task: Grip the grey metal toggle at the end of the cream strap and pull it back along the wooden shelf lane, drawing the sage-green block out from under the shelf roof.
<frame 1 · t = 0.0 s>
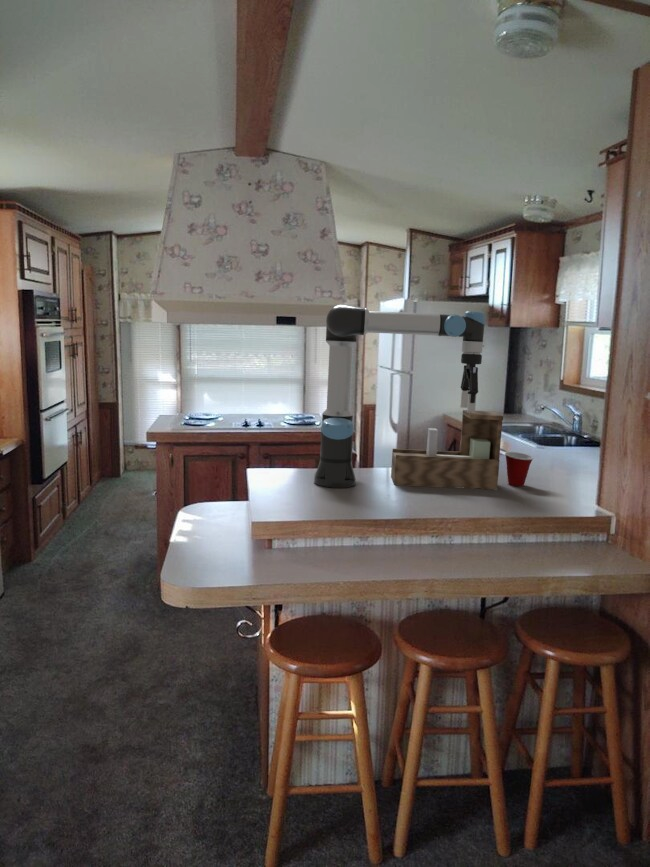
hand: (467, 409, 251), 28 cm above the worktop, tool pointing down, fingers open, 13 cm apart
plastic cup: (516, 485, 254), on the worktop
tethered block: (458, 443, 249), point 15 cm above the worktop, slide at 0.0 cm
shelf lane: (442, 483, 251), on the worktop
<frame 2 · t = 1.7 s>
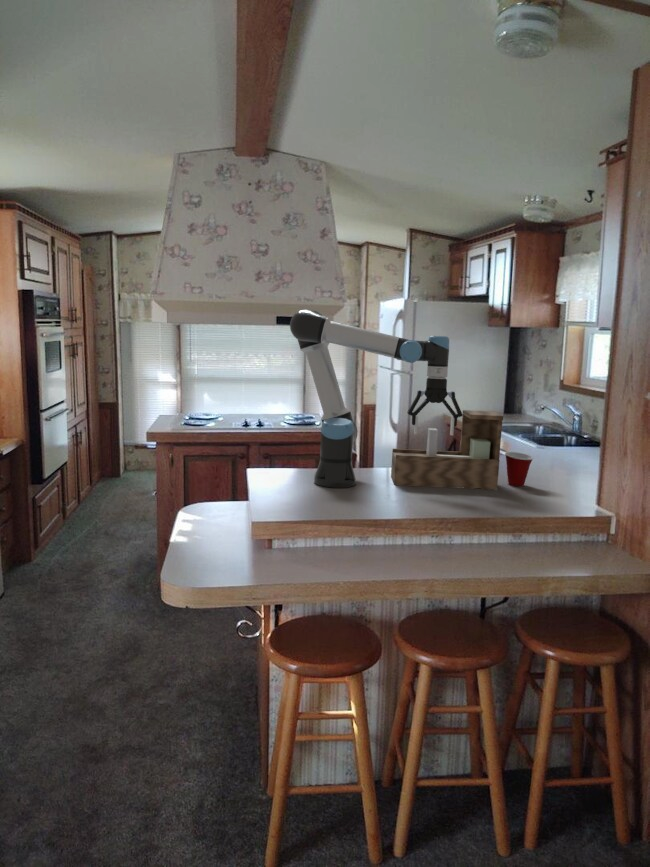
hand: (433, 434, 248), 18 cm above the worktop, tool pointing down, fingers open, 13 cm apart
nothing on the worktop moved.
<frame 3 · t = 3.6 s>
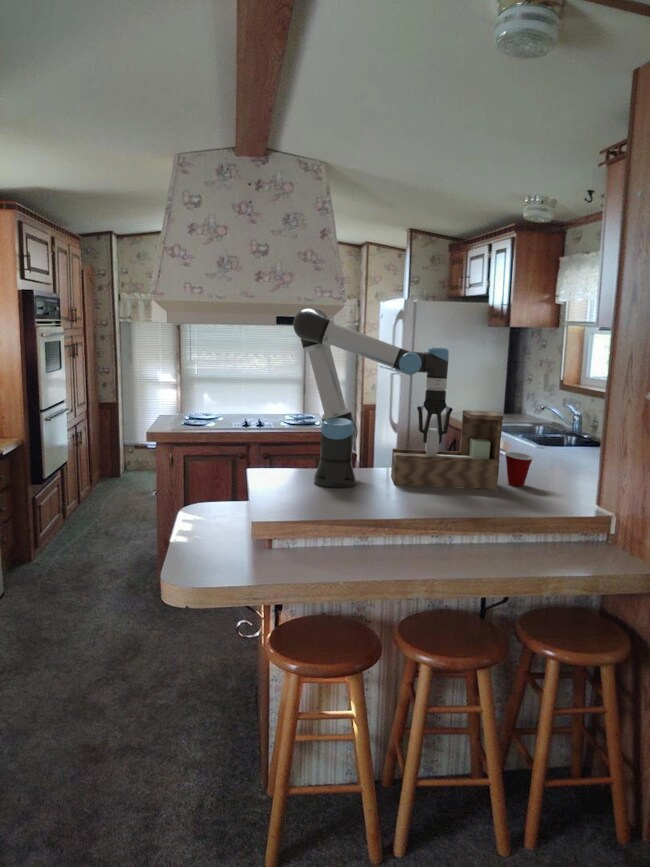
hand: (431, 451, 249), 12 cm above the worktop, tool pointing down, fingers closed on tethered block, 3 cm apart
tethered block: (458, 443, 249), point 15 cm above the worktop, slide at 0.0 cm, touching gripper
everything else where it was.
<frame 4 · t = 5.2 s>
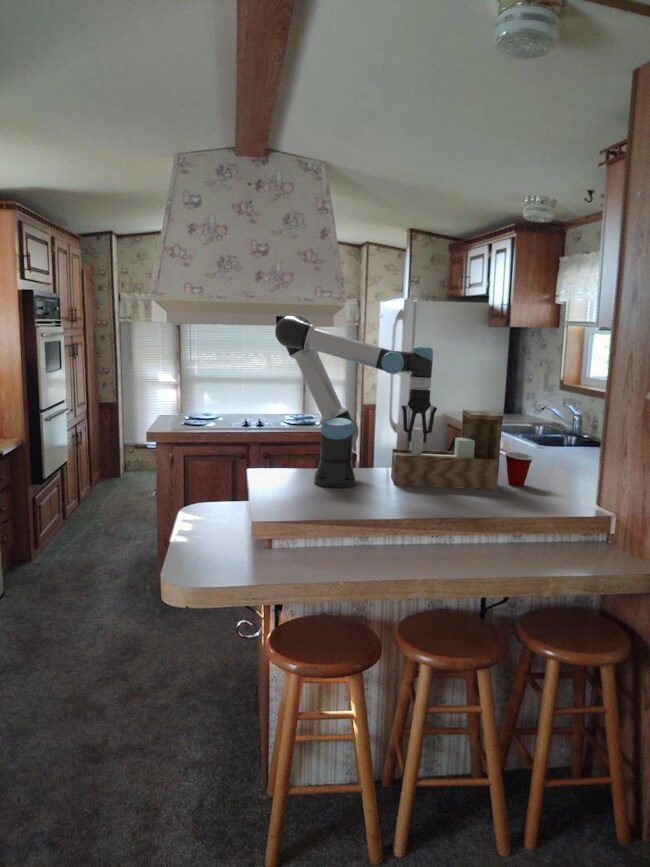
hand: (416, 450, 249), 12 cm above the worktop, tool pointing down, fingers closed on tethered block, 3 cm apart
tethered block: (442, 443, 249), point 15 cm above the worktop, slide at 5.8 cm, touching gripper
everything else where it was.
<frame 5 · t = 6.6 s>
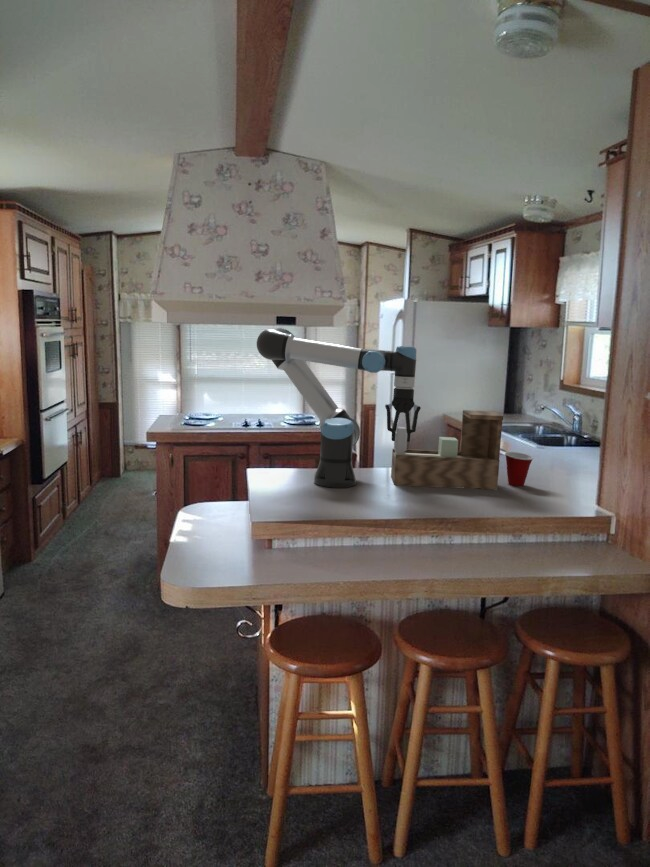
hand: (399, 449, 249), 12 cm above the worktop, tool pointing down, fingers closed on tethered block, 3 cm apart
tethered block: (426, 442, 249), point 15 cm above the worktop, slide at 11.9 cm, touching gripper
everything else where it was.
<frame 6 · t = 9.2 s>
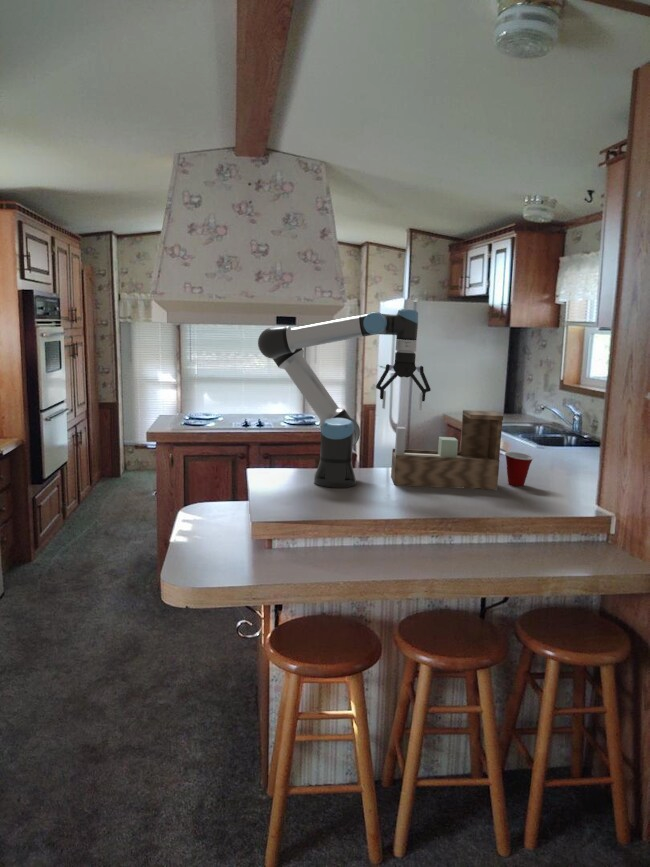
hand: (401, 409, 247), 27 cm above the worktop, tool pointing down, fingers open, 13 cm apart
tethered block: (426, 442, 249), point 15 cm above the worktop, slide at 12.0 cm
everything else where it was.
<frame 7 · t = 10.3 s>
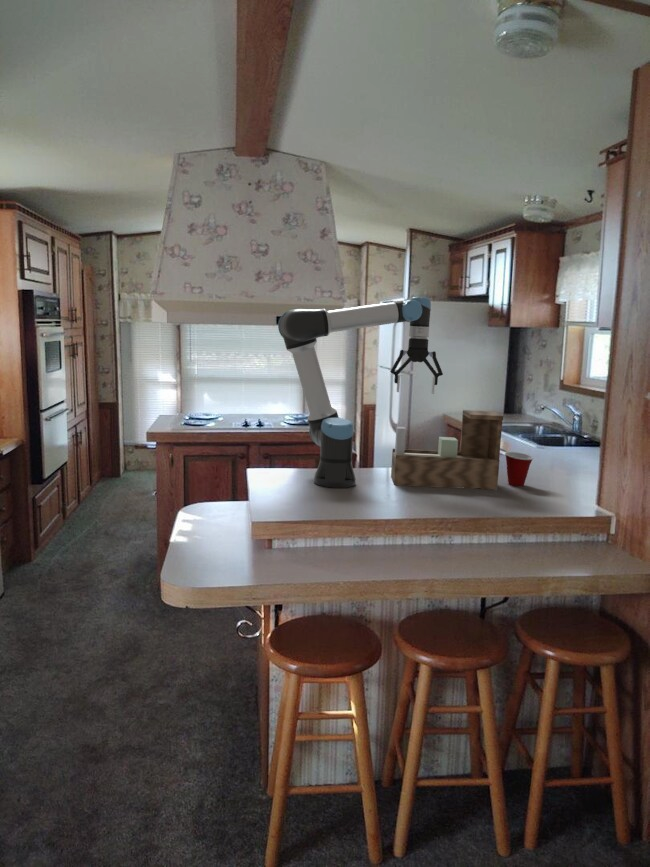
hand: (415, 392, 259), 33 cm above the worktop, tool pointing down, fingers open, 13 cm apart
nothing on the worktop moved.
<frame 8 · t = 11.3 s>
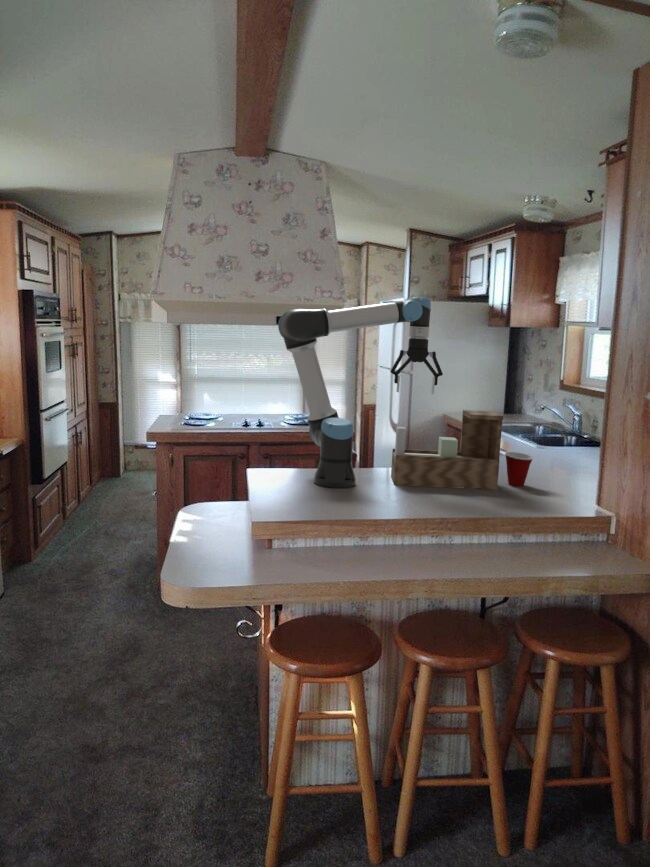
hand: (415, 392, 259), 33 cm above the worktop, tool pointing down, fingers open, 13 cm apart
nothing on the worktop moved.
at the end: tethered block slide at 12.0 cm; the gripper is holding nothing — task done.
